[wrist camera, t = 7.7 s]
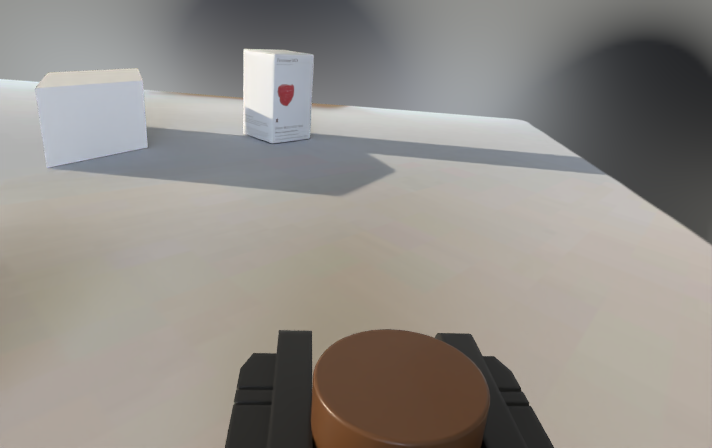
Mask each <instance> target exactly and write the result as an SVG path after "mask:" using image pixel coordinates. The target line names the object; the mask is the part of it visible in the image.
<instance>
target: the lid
mask: <svg viewBox="0 0 712 448" xmlns="http://www.w3.org/2000/svg"><path fill="white" fill-rule="evenodd" d="M489 406H490V393H489V388H488V385H487V382H486V379H485V377H484V376H483V374H482V372H481V371H480V369H479V368H478V367H477V366H476V364H475V363H474V362H473V361H472V360H471V359H470V358H468V357H467V356H466V355H465V354H463V353H462V352H461V351H459V350H458V349H456V348H455V347H453V346H451V345H449V344H447V343H445V342H443V341H441V340H438V339H436V338H433V337H430V336H427V335H424V334H420V333H415V332H410V331H404V330H391V329H383V330H370V331H365V332H360V333H356V334H353V335H350V336H347V337H345V338H343V339H341V340H339V341H337V342H336V343H334V344H333V345H331V346H330V347H329V348H328V349H327V350H326V351H325V352H324V353H323V354H322V355H321V357H320V358H319V360H318V362H317V364H316V366H315V369H314V374H313V388H312V407H311V429H312V448H481V444H482V440H483V435H484V430H485V425H486V420H487V416H488V411H489Z"/></svg>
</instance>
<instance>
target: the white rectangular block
mask: <svg viewBox="0 0 712 448" xmlns="http://www.w3.org/2000/svg"><path fill="white" fill-rule="evenodd" d="M35 92H36V99H37V106H38V112H39V119H40V126H41V132H42V139H43V146H44V153H45V159H46V166H47V168H49V167H54V166H59V165H64V164H69V163H74V162H79V161H84V160H88V159H93V158H98V157H103V156H108V155H113V154H118V153H123V152H128V151H133V150H138V149H143V148H148V144H147V130H146V117H145V104H144V90H143V80H142V77H141V75H140V73H139V70H138V68H134V69H112V70H92V71H71V72H51V73H47V74H46V75H45V77H44V78H43V79H42V80H41V81H40V83H39V84H38V85H37V86H36V88H35Z"/></svg>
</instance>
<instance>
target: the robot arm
mask: <svg viewBox="0 0 712 448" xmlns="http://www.w3.org/2000/svg"><path fill="white" fill-rule="evenodd" d="M435 338H436V339H438V340H441V341H443V342H445V343H447V344H449V345H451V346H453V347H455V348H456V349H458V350H459V351H461V352H462V353H463V354H465V355H466V356H467V357H468V358H470V359H471V360H472V361H473V362H474V363H475V364H476V366H477V367H478V368H479V369H480V371H481V372H482V374H483V376H484V377H485V379H486V382H487V385H488V388H489V393H490V406H489V411H488V416H487V420H486V425H485V430H484V435H483V440H482V444H481V448H554V447H553V445H552V443H551V441H550V439H549V438H548V436H547V434H546V432H545V430H544V429H543V427H542V425H541V423H540V422H539V420H538V418H537V416H536V414H535V413H534V411H533V409H532V407H531V406H529V402H528V400H527V398H526V397H525V395H524V393H523V392H521V388H520V386H519V384H518V382H517V380H516V379H515V377H514V375H513V373H512V372H511V371H510V370H509V369H508V368H507V367H506V366H505V365H503V364H502V363H501V362H500V361H499V360H498V359H496V358H495V357H494V356H482V354H481V352H480V350H479V348H478V346H477V344H476V342H475V340H474V338H473V337H472V335H471V334H456V333H438V334H437V335H436V337H435ZM311 407H312V331H290V330H279V336H278V346H277V354H270V353H253V354H252V356H251V357H250V358H249V359H248V360H247V362H246V363H245V364H244V365H243V366H242V367H241V369H240V374H239V379H238V384H237V390H236V394H235V399H234V405H233V409H232V414H231V419H230V425H229V430H228V435H227V440H226V445H225V448H312V429H311Z"/></svg>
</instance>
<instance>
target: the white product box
mask: <svg viewBox="0 0 712 448" xmlns="http://www.w3.org/2000/svg"><path fill="white" fill-rule="evenodd" d="M313 63H314V55H312V54H307V53H299V52H294V51H288V50H266V49H244V84H243V85H244V88H243V93H244V95H243V133H244V134H247V135H249V136H252V137H255V138H258V139H261V140H264V141H267V142H270V143H272V144H273V143H280V142H288V141H295V140H303V139H310V126H311V105H312V84H313Z"/></svg>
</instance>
